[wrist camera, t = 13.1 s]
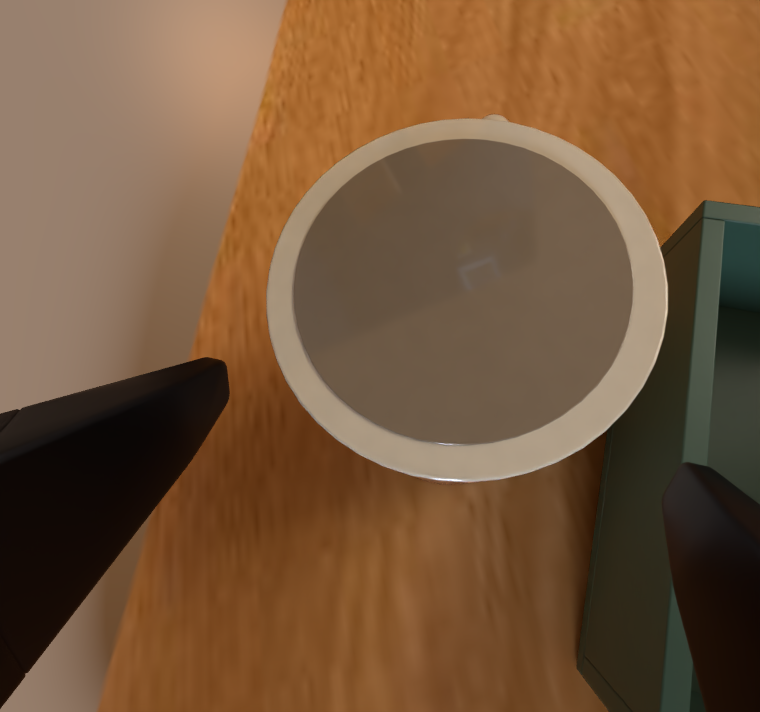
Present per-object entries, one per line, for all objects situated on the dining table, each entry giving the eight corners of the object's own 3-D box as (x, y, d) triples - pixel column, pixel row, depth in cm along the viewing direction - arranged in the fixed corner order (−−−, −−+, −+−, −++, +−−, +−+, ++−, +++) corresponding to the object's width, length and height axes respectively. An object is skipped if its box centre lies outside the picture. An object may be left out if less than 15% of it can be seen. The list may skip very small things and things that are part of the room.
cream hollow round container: (520, 505, 16) (653, 536, 6) (342, 460, 17) (211, 425, 7) (555, 276, 18) (694, 27, 8) (396, 252, 20) (352, 11, 10)
